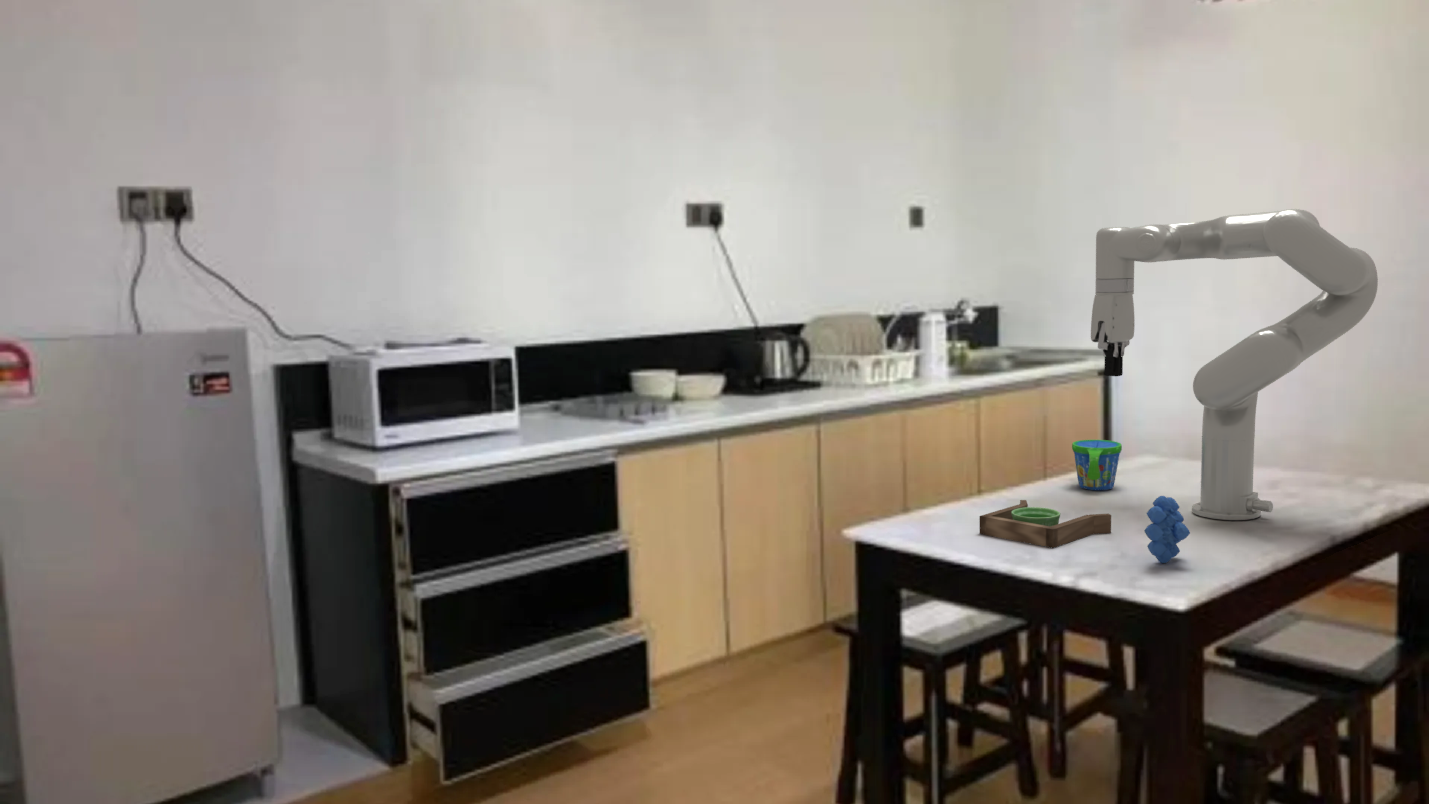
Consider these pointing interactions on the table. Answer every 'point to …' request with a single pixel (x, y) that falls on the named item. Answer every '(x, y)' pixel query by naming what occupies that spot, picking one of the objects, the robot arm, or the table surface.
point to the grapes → (1165, 529)
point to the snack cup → (1096, 463)
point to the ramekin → (1037, 515)
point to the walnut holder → (1042, 527)
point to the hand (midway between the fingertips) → (1113, 375)
